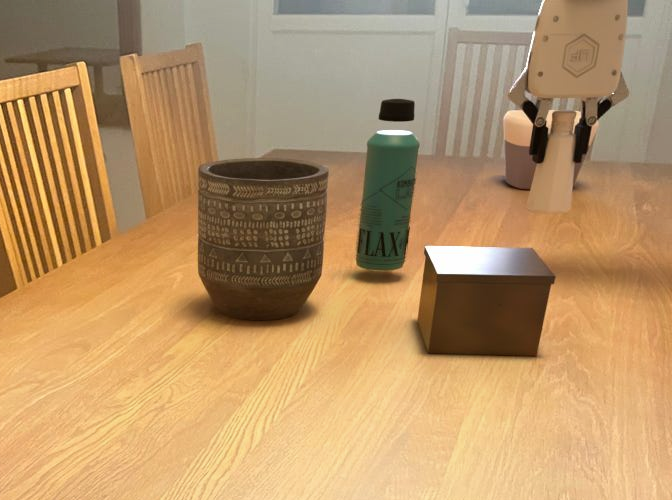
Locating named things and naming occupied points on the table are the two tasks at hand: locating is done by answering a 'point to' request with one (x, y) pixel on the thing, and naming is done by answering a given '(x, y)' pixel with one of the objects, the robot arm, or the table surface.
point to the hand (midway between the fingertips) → (556, 159)
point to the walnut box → (483, 300)
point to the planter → (261, 234)
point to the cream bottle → (555, 168)
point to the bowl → (518, 145)
